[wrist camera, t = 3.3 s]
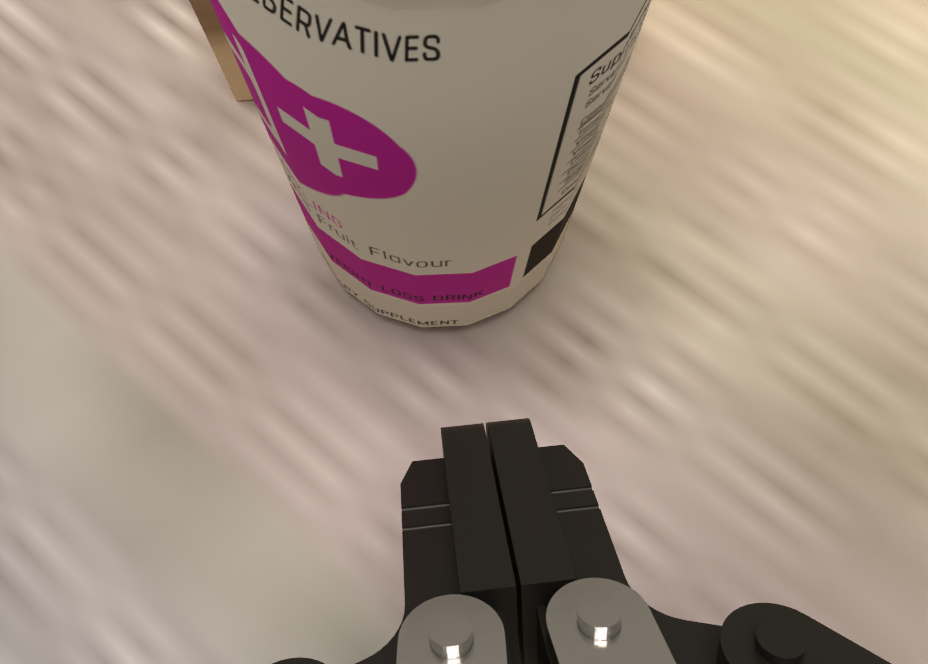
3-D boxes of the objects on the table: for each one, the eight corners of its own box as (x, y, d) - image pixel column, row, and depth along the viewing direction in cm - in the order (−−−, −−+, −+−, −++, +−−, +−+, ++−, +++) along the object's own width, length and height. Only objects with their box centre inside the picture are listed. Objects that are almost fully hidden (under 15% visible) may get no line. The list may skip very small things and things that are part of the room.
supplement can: (400, 381, 24) (329, 137, 10) (273, 180, 26) (51, -279, 11) (609, 252, 25) (819, -132, 11) (474, 69, 27) (502, -469, 13)
